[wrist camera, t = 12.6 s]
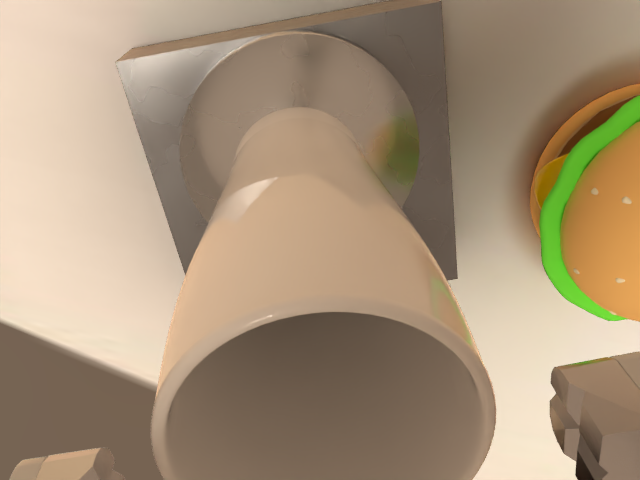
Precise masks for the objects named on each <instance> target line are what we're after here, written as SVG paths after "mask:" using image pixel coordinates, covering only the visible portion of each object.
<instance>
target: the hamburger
mask: <svg viewBox="0 0 640 480" xmlns="http://www.w3.org/2000/svg"><path fill="white" fill-rule="evenodd" d="M530 209H531V214H532V220H533V223H534V226H535V228H536V231H537V233H538V236H539V237H540V239H541V256H542V263H543V266H544V269H545V271H546V273H547V275H548V277H549V279H550V280H551V282H552V283H553V285H554V286H555V288H556V289H557V290H558V291H559V292H560V294H561V295H562V296H563V297H564V298H565V299H567V300H568V301H570V302H571V303H573V304H575V305H577V306H578V307H580V308H582V309H584V310H586V311H588V312H590V313H592V314H594V315H596V316H598V317H600V318H603V319H605V320H608V321H619V320H624V319H630V320H635V321H639V322H640V84H635V85H629V86H626V87H623V88H621V89H618V90H615V91H612V92H609V93H607V94H605V95H604V96H602V97H600V98H598V99H596V100H594V101H592V102H590V103H589V104H587V105H586V106H585V107H583V108H582V109H580V110H579V111H578V112H576V113H575V114H574V115H573V116H572V117H571V118H570V119H569V120H567V121H566V122H565V123H564V124H563V125H562V126H561V127H560V129H559V130H558V131H557V132H556V134H555V135H554V136H553V137H552V139H551V140H550V141H549V143H548V145H547V146H546V148H545V150H544V151H543V153H542V155H541V157H540V159H539V162H538V164H537V167H536V169H535V172H534V176H533V181H532V186H531V191H530Z"/></svg>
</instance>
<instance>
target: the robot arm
mask: <svg viewBox="0 0 640 480" xmlns="http://www.w3.org/2000/svg"><path fill="white" fill-rule="evenodd" d="M551 384H552V386H553V388H554V390H555V391H556V394H555V396H554V397H553V398H552V399H551V400H550V418H551V423H552V428H553V431H554V434H555V436H556V439H557V442H558V443H559V445H560V447H561V449H562V451H563V453H564V454H565V455H567V456H568V457H570V458H572V459H573V460H575V461H576V474H575V475H576V477H577V479H578V480H640V352H633V353H628V354H622V355H617V356H612V357H609V358H608V357H605V358H600V359H595V360H590V361H584V362H579V363H574V364H568V365H563V366H558V367H554V369H553V371H552V373H551ZM114 462H115V459H114V457H113V456H112V454H111V452H110V450H109V449H108V448H96V449H89V450H83V451H76V452H69V453H63V454H56V455H50V456H46V457H40V458H33V459H26V460H22V461H21V462H20V463H19V464H18V465H17V466H16V467H15V469H14V471H13V473H12V475H11V477H10V479H9V480H125V478H124V476H123V475H121V474H119V473H117V472H115V471H113V470H112V469H113V465H114Z"/></svg>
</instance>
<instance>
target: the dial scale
mask: <svg viewBox="0 0 640 480" xmlns="http://www.w3.org/2000/svg"><path fill="white" fill-rule="evenodd" d="M115 63H116V66H117V69H118V72H119V75H120V78H121V81H122V84H123V87H124V90H125V93H126V96H127V99H128V102H129V105H130V108H131V112H132V115H133V118H134V121H135V124H136V127H137V130H138V133H139V136H140V139H141V142H142V145H143V148H144V151H145V154H146V157H147V160H148V163H149V166H150V169H151V172H152V175H153V178H154V181H155V184H156V187H157V190H158V193H159V196H160V199H161V202H162V205H163V209H164V212H165V215H166V218H167V221H168V224H169V227H170V230H171V233H172V236H173V239H174V242H175V245H176V248H177V251H178V254H179V257H180V260H181V263H182V266H183V269H184V272H185V275H186V273H187V270H188V267H189V265H190V262H191V260H192V258H193V255H194V253H195V251H196V248H197V246H198V244H199V242H200V239H201V237H202V235H203V233H204V230H205V228H206V226H207V224H208V222H209V219H210V217H211V215H212V213H213V210H214V208H215V206H216V204H217V201H218V199H219V197H220V194H221V192H222V190H223V188H224V185H225V183H226V181H227V178H228V176H229V173H230V171H231V169H232V165H233V160H234V156H235V152H236V149H237V147H238V145H239V143H240V141H241V139H242V137H243V136H244V134H245V133H246V132H247V130H248V129H249V128H250V127H251V126H252V125H253V124H254V123H255V122H256V121H258V120H259V119H260V118H262V117H264V116H265V115H267V114H269V113H271V112H273V111H276V110H279V109H283V108H288V107H310V108H315V109H318V110H321V111H324V112H326V113H328V114H331V115H332V116H334V117H335V118H337V119H338V120H340V121H341V122H342V123H343V124H344V125H345V126H346V127H347V128H348V129H349V130H350V131H351V132H352V134H353V135H354V137H355V138H356V140H357V142H358V144H359V146H360V148H361V151H362V153H363V155H364V156H365V158H366V159H367V161H368V162H369V164H370V165H371V167H372V168H373V169H374V171H375V172H376V174H377V175H378V177H379V178H380V180H381V181H382V182H383V184H384V185H385V187H386V188H387V189H388V191H389V192H390V194H391V195H392V196H393V198H394V199H395V201H396V202H397V203H398V205H399V206H400V207H401V209H402V210H403V212H404V213H405V214H406V216H407V217H408V219H409V220H410V221H411V223H412V224H413V226H414V227H415V229H416V230H417V231H418V233H419V234H420V236H421V237H422V239H423V240H424V242H425V243H426V245H427V246H428V248H429V250H430V251H431V253H432V254H433V256H434V258H435V260H436V261H437V263H438V265H439V267H440V268H441V270H442V272H443V274H444V276H445V278H446V280H453V279H458V277H457V260H456V243H455V226H454V209H453V192H452V176H451V159H450V142H449V125H448V108H447V91H446V74H445V58H444V41H443V24H442V7H441V1H439V0H389V1H384V2H379V3H373V4H368V5H362V6H357V7H352V8H346V9H341V10H336V11H330V12H325V13H320V14H314V15H309V16H304V17H298V18H293V19H287V20H282V21H277V22H271V23H266V24H261V25H255V26H250V27H245V28H239V29H234V30H228V31H223V32H218V33H212V34H207V35H202V36H196V37H191V38H186V39H180V40H175V41H170V42H164V43H159V44H153V45H148V46H143V47H137V48H132V49H131V50H129V51H128V52H127V53H126V54H125V55H123V56H122V57H121V58H120V59H118V60H117V61H116V62H115Z"/></svg>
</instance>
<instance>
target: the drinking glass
mask: <svg viewBox="0 0 640 480" xmlns="http://www.w3.org/2000/svg"><path fill="white" fill-rule="evenodd" d="M495 424H496V402H495V395H494V390H493V386H492V382H491V380H490V377H489V375H488V372H487V370H486V368H485V366H484V364H483V361H482V359H481V356H480V354H479V351H478V349H477V346H476V343H475V341H474V338H473V336H472V334H471V331H470V329H469V326H468V324H467V321H466V319H465V317H464V315H463V312H462V310H461V308H460V306H459V304H458V301H457V299H456V297H455V295H454V293H453V291H452V289H451V287H450V285H449V283H448V281H447V280H446V278H445V276H444V274H443V272H442V270H441V268H440V267H439V265H438V263H437V261H436V260H435V258H434V256H433V254H432V253H431V251H430V250H429V248H428V246H427V245H426V243H425V242H424V240H423V239H422V237H421V236H420V234H419V233H418V231H417V230H416V229H415V227H414V226H413V224H412V223H411V221H410V220H409V219H408V217H407V216H406V214H405V213H404V212H403V210H402V209H401V207H400V206H399V205H398V203H397V202H396V201H395V199H394V198H393V196H392V195H391V194H390V192H389V191H388V189H387V188H386V187H385V185H384V184H383V182H382V181H381V180H380V178H379V177H378V175H377V174H376V172H375V171H374V169H373V168H372V167H371V165H370V164H369V162H368V161H367V159H366V158H365V156H364V155H363V153H362V151H361V148H360V146H359V144H358V142H357V140H356V138H355V137H354V135H353V134H352V132H351V131H350V130H349V129H348V128H347V127H346V126H345V125H344V124H343V123H342V122H341V121H340V120H338V119H337V118H335V117H334V116H332V115H331V114H328V113H326V112H324V111H321V110H318V109H315V108H310V107H288V108H283V109H279V110H276V111H273V112H271V113H269V114H267V115H265V116H264V117H262V118H260V119H259V120H258V121H256V122H255V123H254V124H253V125H252V126H251V127H250V128H249V129H248V130H247V132H246V133H245V134H244V136H243V137H242V139H241V141H240V143H239V145H238V147H237V149H236V152H235V156H234V160H233V165H232V169H231V171H230V173H229V176H228V178H227V181H226V183H225V185H224V188H223V190H222V192H221V194H220V197H219V199H218V201H217V204H216V206H215V208H214V210H213V213H212V215H211V217H210V219H209V222H208V224H207V226H206V228H205V230H204V233H203V235H202V237H201V239H200V242H199V244H198V246H197V248H196V251H195V253H194V255H193V258H192V260H191V262H190V265H189V267H188V270H187V273H186V275H185V278H184V281H183V284H182V287H181V290H180V293H179V296H178V299H177V303H176V306H175V309H174V313H173V316H172V320H171V324H170V328H169V332H168V336H167V341H166V345H165V350H164V355H163V360H162V365H161V370H160V376H159V381H158V387H157V392H156V398H155V403H154V407H153V412H152V418H151V443H152V449H153V454H154V458H155V461H156V464H157V467H158V469H159V471H160V473H161V475H162V477H163V479H164V480H472V479H473V478H474V476H475V475H476V474H477V472H478V471H479V469H480V467H481V465H482V464H483V462H484V460H485V458H486V456H487V453H488V451H489V449H490V446H491V443H492V439H493V436H494V430H495Z"/></svg>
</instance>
